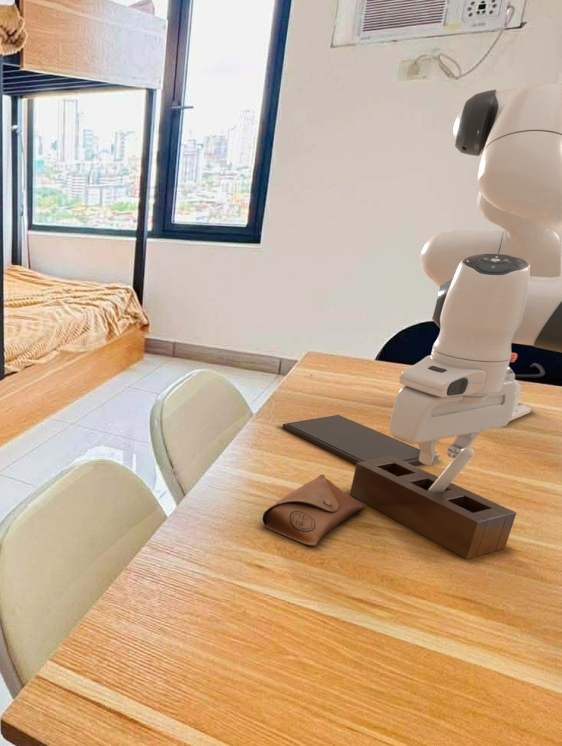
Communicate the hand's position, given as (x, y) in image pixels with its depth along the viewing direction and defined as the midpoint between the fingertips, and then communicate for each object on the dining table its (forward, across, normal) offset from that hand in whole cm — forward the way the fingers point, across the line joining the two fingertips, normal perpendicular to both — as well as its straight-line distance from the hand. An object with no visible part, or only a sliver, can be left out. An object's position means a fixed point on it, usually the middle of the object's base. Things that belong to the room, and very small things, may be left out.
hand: (441, 460), depth 94 cm
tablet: (+11, -14, -26) cm, 31 cm away
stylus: (+11, 0, -2) cm, 11 cm away
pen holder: (+11, 0, -1) cm, 11 cm away
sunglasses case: (+11, +15, -7) cm, 20 cm away
